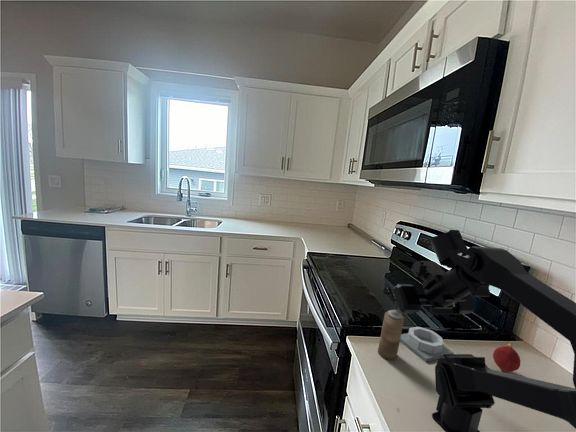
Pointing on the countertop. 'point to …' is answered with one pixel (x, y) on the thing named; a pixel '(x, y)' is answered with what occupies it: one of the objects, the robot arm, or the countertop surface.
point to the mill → (390, 335)
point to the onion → (506, 358)
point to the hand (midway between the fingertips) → (414, 311)
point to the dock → (422, 354)
